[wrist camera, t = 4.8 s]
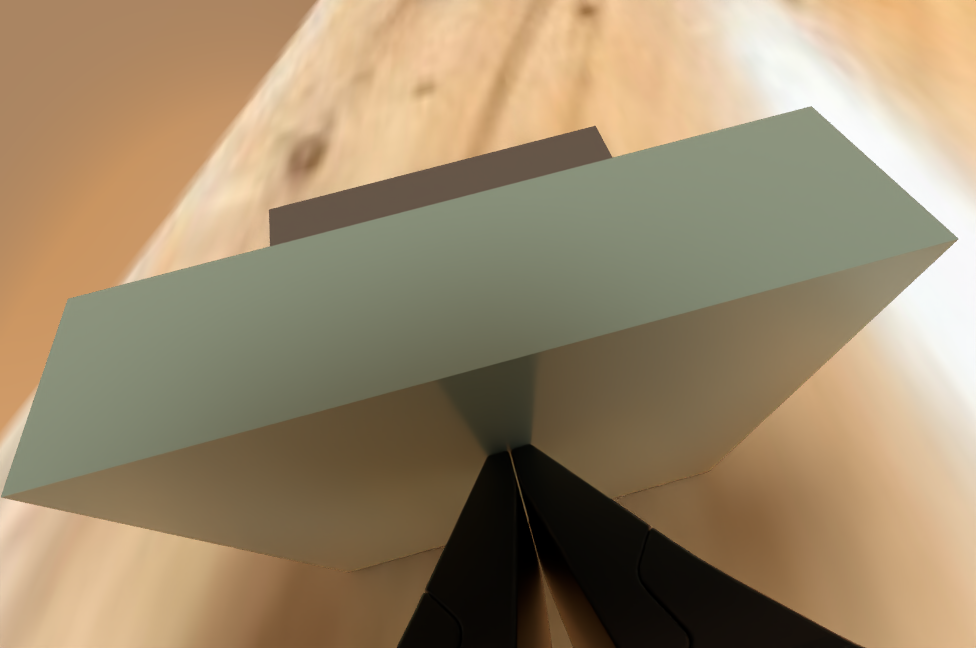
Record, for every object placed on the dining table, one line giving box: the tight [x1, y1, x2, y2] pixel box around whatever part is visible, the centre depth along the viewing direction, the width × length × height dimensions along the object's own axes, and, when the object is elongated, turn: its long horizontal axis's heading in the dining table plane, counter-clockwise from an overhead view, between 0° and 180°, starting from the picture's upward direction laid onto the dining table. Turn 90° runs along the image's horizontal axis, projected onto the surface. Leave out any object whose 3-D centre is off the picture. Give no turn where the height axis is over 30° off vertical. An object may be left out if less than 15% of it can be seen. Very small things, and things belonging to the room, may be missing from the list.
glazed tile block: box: [1, 106, 958, 573], centre depth 11 cm, size 3×12×11 cm, turn 104°
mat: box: [269, 126, 612, 246], centre depth 19 cm, size 12×16×1 cm
